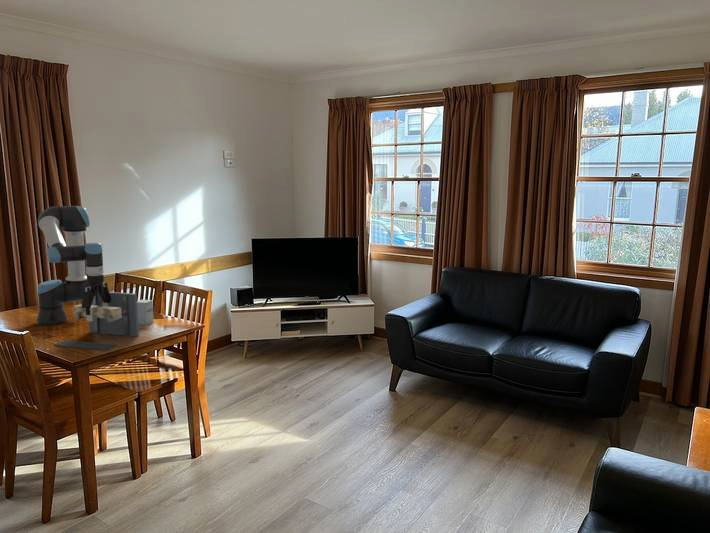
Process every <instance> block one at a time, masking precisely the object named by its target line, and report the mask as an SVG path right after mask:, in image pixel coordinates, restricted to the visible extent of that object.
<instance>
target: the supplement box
mask: <svg viewBox="0 0 710 533" xmlns="http://www.w3.org/2000/svg"><path fill="white" fill-rule="evenodd" d="M137 311H138V325H142V326H146V325H149V324H151V323H153V322H154V320H155V318H154V302H153V300H152V299H140V300H137Z"/></svg>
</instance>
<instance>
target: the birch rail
mask: <svg viewBox="0 0 710 533" xmlns="http://www.w3.org/2000/svg"><path fill="white" fill-rule="evenodd" d="M91 308H92V317H94V318H107V315H112V319H119V318H121V317H122V313H121V307H109V306H95V305H91ZM75 313H80V316H82V317H85V318H87V315H86V309H85V308H82V303H81V304H77V305H73V317H75Z"/></svg>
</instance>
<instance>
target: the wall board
mask: <svg viewBox="0 0 710 533" xmlns="http://www.w3.org/2000/svg"><path fill="white" fill-rule="evenodd" d="M109 293H110V296H111V301H110V303H108V306H109V307H121V313H122V314H124V313H123V296H128V307H129V324H130V336H129V337H138V336H140V334H139V330H140V329H139V324H138V311H137V301H138V295H137V293H133V292H132V293H129V292H114V291H109ZM97 299H98V306H102V303H104V302H103V300H102V298H101V297H100V295H99V293H97ZM88 323H89V324H88V325H89V333H93V334H94V320H93V321H88ZM99 329H100V333H99V334H107V335H118V336H125V331H124V317H123V318H121V319H118V320H115V321H113V322H107V318H99Z"/></svg>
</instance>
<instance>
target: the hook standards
mask: <svg viewBox="0 0 710 533" xmlns="http://www.w3.org/2000/svg"><path fill="white" fill-rule="evenodd" d="M92 305H95V306H98V299H97V294H96V295H95V296H94V299H93V302H92ZM123 313H124V314H122V317H121V318H123V317H124V331H125V335H124V337H126V338H127V337H131V336H130V324H129V307H128V296H123ZM74 318H75V320H82V319H85V318H86V317H82V316H80V313H75V316H74ZM121 318H119V319H121ZM93 320H94V333H93V334H96V335H99V334H101V333H100V329H99V318H94V317H93ZM115 320H118V319H112V315H107V322H113V321H115Z"/></svg>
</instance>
